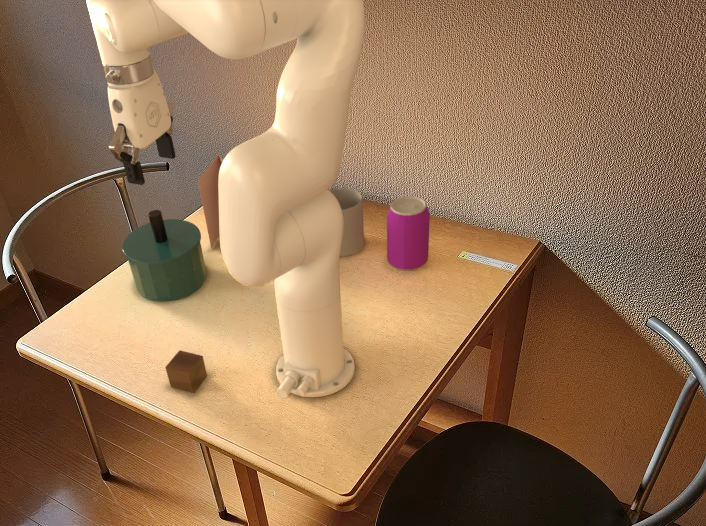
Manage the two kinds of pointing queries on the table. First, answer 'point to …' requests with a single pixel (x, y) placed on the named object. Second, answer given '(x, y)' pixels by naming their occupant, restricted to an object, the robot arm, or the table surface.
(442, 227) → the table surface
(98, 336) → the table surface
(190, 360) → the block
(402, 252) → the beverage can
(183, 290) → the pot
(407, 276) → the table surface
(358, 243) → the cup
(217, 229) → the greeting card
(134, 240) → the lid
